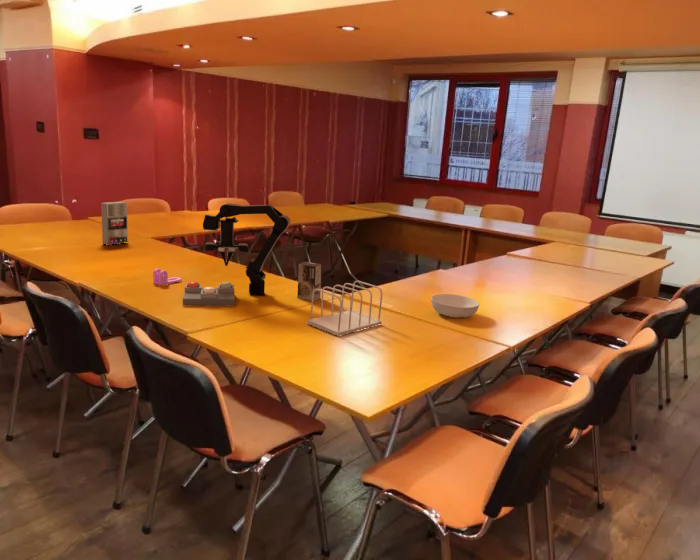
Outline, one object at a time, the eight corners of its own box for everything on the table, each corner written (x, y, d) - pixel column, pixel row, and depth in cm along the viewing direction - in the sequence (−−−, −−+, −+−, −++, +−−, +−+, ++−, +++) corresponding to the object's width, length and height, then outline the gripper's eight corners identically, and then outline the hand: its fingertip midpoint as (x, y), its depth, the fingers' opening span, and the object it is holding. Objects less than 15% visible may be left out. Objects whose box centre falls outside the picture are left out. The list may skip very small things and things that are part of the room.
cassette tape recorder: (108, 246, 333) (107, 204, 327) (102, 244, 336) (100, 202, 330) (128, 243, 344) (127, 202, 338) (122, 242, 347) (121, 201, 341)
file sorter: (338, 337, 209) (340, 297, 205) (306, 325, 221) (309, 286, 217) (381, 325, 227) (385, 288, 223) (350, 314, 239) (353, 278, 235)
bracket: (160, 286, 259) (160, 271, 257) (153, 283, 262) (153, 269, 260) (183, 281, 269) (183, 267, 267) (176, 279, 272) (176, 265, 270)
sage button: (231, 288, 250) (231, 281, 250) (231, 291, 246) (231, 284, 245) (221, 288, 249) (221, 281, 249) (220, 291, 245) (221, 284, 245)
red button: (198, 287, 247) (198, 281, 247) (198, 290, 243) (198, 284, 242) (188, 287, 246) (188, 281, 246) (187, 290, 242) (187, 283, 241)
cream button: (214, 293, 240) (214, 287, 240) (214, 296, 236) (214, 289, 235) (204, 293, 239) (204, 286, 239) (203, 296, 235) (203, 289, 234)
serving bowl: (473, 325, 235) (475, 310, 233) (424, 317, 242) (426, 301, 240) (480, 312, 254) (482, 298, 252) (434, 305, 261) (436, 291, 259)
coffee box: (320, 298, 258) (322, 264, 254) (314, 301, 252) (316, 266, 248) (303, 294, 262) (305, 261, 258) (296, 297, 256) (298, 263, 252)
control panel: (233, 294, 253) (234, 284, 252) (234, 305, 237) (234, 294, 236) (185, 294, 249) (185, 283, 247) (182, 305, 232) (182, 294, 231)
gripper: (247, 229, 261) (246, 262, 265) (206, 227, 257) (205, 261, 261) (248, 233, 251) (247, 267, 254) (205, 232, 246) (204, 266, 250)
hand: (226, 265), depth 255 cm, fingers closed
